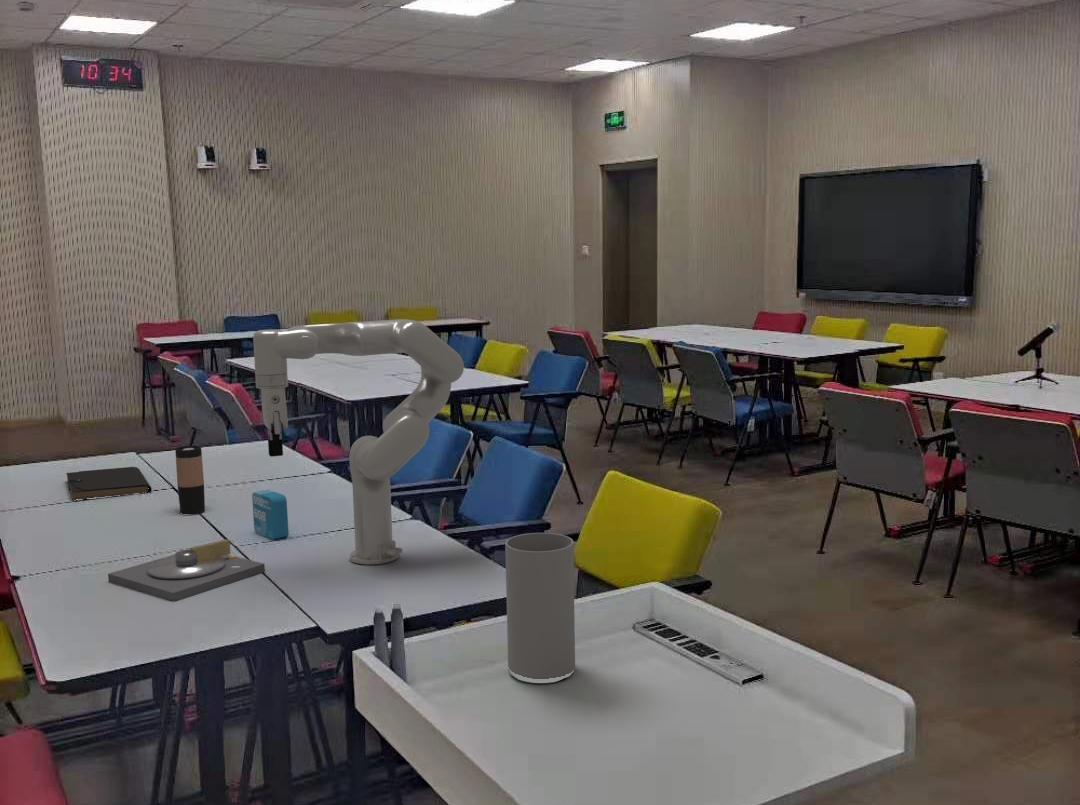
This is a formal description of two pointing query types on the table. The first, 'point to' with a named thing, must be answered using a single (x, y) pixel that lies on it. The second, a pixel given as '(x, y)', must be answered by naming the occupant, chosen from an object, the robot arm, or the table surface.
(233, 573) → the dial base
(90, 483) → the dark notebook
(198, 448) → the travel mug
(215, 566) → the capstan dial
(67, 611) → the table surface
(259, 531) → the data package
